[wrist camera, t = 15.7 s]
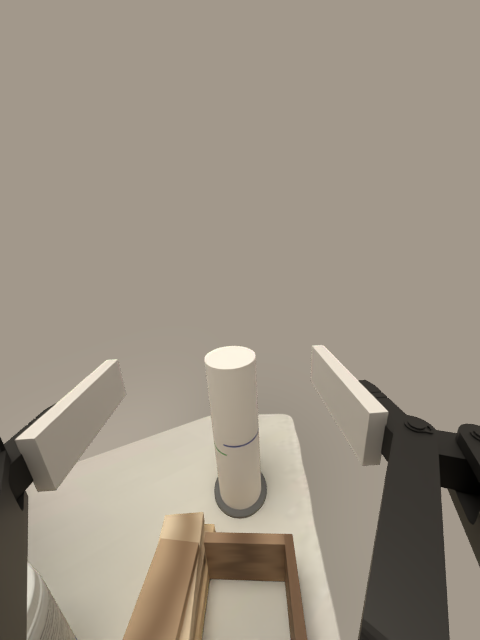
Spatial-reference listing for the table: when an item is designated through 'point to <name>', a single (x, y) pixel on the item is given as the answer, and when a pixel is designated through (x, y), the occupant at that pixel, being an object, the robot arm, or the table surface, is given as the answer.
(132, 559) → the table surface
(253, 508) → the rubber mat
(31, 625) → the supplement tub
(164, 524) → the offcut rack
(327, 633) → the table surface
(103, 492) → the table surface
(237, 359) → the cylindrical container
